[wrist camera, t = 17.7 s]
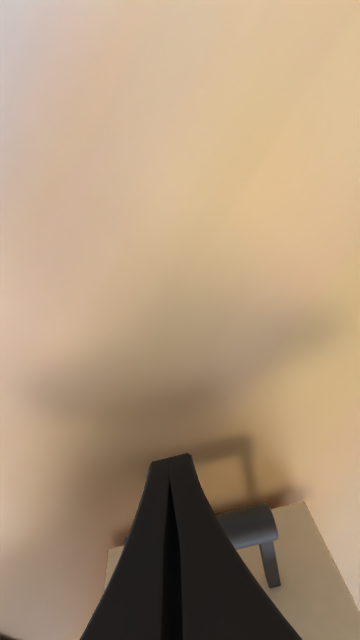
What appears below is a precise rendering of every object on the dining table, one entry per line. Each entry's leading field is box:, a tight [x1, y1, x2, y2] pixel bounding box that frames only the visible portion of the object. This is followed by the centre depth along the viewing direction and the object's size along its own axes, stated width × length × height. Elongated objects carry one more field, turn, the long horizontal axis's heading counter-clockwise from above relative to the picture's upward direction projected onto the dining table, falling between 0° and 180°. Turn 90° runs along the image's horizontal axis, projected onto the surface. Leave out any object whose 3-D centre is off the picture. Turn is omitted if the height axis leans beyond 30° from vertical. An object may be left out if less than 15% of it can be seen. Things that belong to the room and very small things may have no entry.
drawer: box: [104, 502, 360, 640], centre depth 18 cm, size 18×12×6 cm, turn 13°
